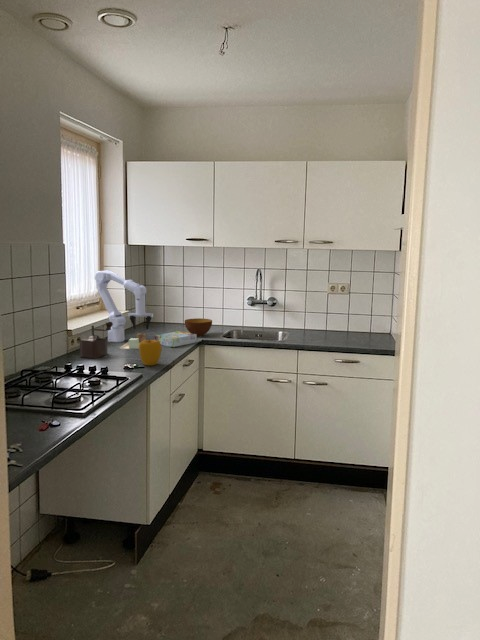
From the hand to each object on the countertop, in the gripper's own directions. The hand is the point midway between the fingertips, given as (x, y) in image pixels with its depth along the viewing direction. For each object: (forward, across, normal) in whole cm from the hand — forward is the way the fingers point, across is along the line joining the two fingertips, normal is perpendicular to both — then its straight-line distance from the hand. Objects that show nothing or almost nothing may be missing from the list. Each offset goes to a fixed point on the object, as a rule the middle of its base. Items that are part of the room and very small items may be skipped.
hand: (141, 328), depth 318 cm
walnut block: (+8, 0, 0) cm, 8 cm away
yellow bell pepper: (+9, +18, -51) cm, 55 cm away
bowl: (+9, +30, +28) cm, 42 cm away
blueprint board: (+9, 0, -6) cm, 11 cm away
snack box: (+6, +14, +6) cm, 16 cm away
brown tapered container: (+9, -15, -34) cm, 38 cm away
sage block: (+8, 0, -16) cm, 18 cm away
